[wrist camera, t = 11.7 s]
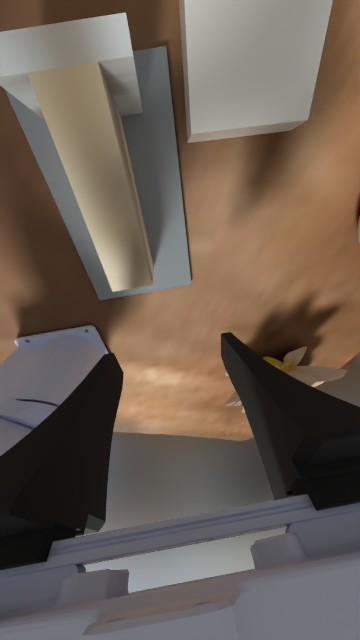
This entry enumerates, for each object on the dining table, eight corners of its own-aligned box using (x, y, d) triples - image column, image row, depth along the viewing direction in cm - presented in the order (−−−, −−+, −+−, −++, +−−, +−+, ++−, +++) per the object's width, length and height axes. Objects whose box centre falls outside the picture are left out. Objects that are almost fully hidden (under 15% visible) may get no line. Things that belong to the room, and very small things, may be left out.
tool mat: (101, 298, 19) (99, 300, 18) (4, 78, 10) (-4, 72, 10) (190, 282, 19) (191, 284, 18) (165, 53, 10) (166, 45, 10)
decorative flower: (220, 410, 31) (247, 475, 21) (207, 359, 27) (232, 410, 18) (298, 385, 31) (358, 439, 22) (296, 331, 27) (368, 368, 18)
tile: (191, 134, 11) (179, -95, 7) (186, 144, 13) (175, -36, 9) (308, 119, 11) (356, -111, 8) (288, 132, 13) (318, -50, 9)
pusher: (109, 273, 17) (92, 295, 13) (44, 104, 11) (-29, 36, 6) (168, 263, 17) (172, 281, 13) (138, 89, 11) (125, 12, 7)
